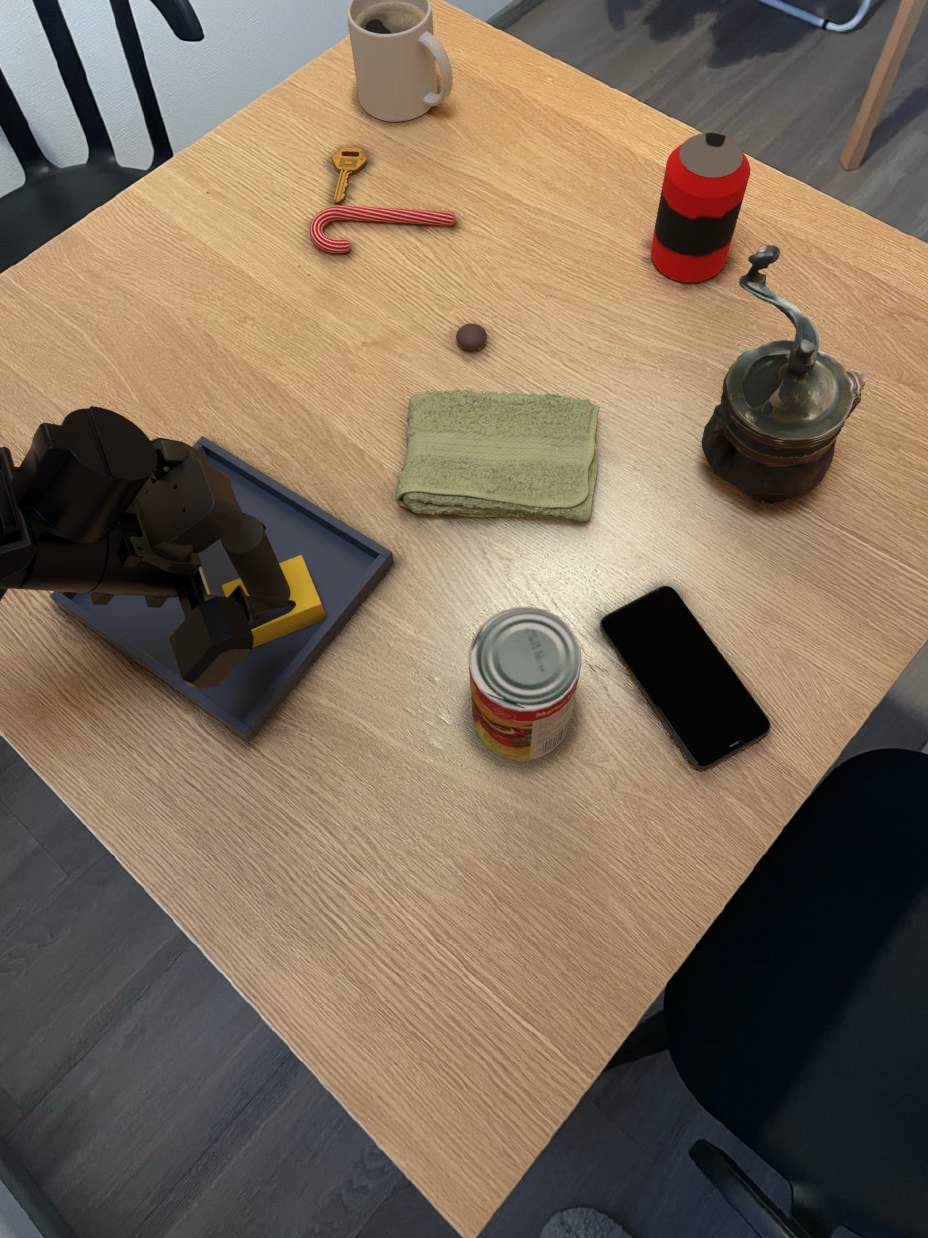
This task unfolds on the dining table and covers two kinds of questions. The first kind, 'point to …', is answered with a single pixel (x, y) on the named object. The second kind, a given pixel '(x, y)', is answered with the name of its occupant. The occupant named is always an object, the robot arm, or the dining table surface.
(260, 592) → the sponge wand
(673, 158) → the soda can
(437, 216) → the candy cane
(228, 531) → the robot arm
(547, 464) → the washcloth
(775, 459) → the coffee grinder
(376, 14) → the mug
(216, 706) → the tray
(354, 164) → the key
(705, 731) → the smartphone
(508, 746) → the canned food
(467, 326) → the chocolate truffle
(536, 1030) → the dining table surface
